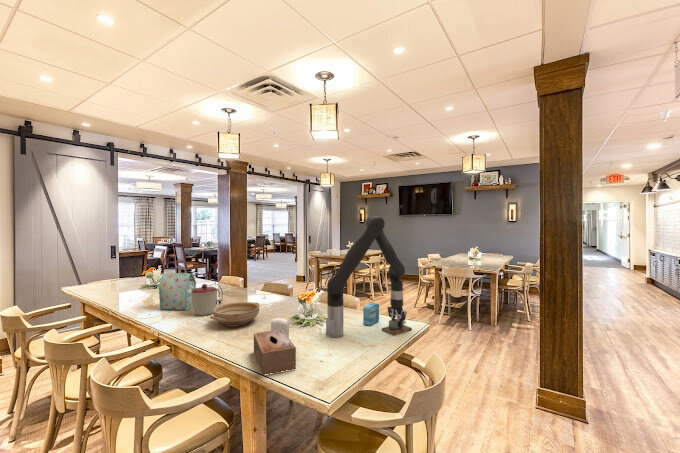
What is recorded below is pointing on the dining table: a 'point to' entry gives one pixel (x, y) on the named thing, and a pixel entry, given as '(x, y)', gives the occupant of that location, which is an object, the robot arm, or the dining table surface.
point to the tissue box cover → (274, 351)
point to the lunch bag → (176, 291)
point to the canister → (204, 300)
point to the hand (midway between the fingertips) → (396, 325)
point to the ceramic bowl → (235, 313)
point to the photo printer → (280, 325)
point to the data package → (371, 314)
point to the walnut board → (396, 330)
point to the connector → (395, 324)
